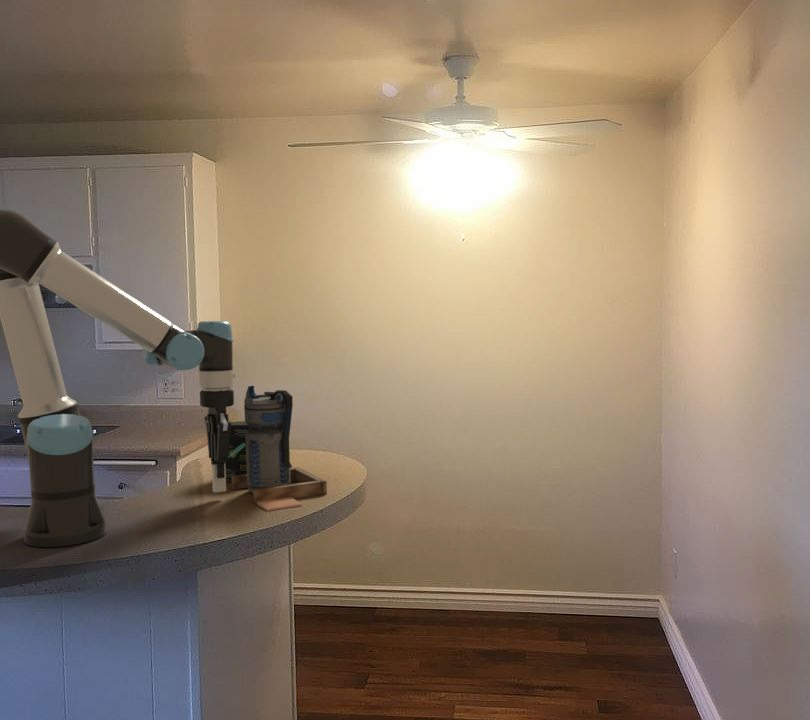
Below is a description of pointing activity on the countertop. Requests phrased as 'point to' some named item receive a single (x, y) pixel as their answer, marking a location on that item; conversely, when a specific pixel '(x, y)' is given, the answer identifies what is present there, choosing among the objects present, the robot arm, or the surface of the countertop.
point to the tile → (279, 503)
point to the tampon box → (237, 450)
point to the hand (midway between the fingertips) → (219, 491)
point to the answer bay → (286, 486)
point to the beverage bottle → (267, 438)
